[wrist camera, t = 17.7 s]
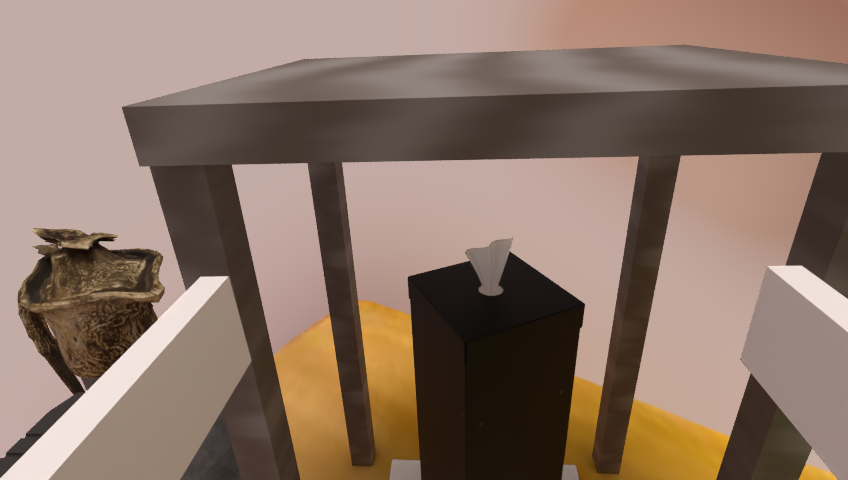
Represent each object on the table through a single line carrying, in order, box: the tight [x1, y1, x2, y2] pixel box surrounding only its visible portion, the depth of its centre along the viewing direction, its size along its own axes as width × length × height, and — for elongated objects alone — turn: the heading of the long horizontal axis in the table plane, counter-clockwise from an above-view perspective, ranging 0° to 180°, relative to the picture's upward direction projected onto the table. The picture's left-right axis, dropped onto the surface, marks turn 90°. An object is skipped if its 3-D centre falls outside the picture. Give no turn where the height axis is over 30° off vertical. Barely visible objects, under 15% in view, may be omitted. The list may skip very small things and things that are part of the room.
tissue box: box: [408, 238, 585, 480], centre depth 33 cm, size 8×8×28 cm
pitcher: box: [18, 228, 242, 480], centre depth 35 cm, size 11×19×30 cm, turn 64°
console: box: [122, 45, 848, 480], centre depth 31 cm, size 26×20×38 cm
